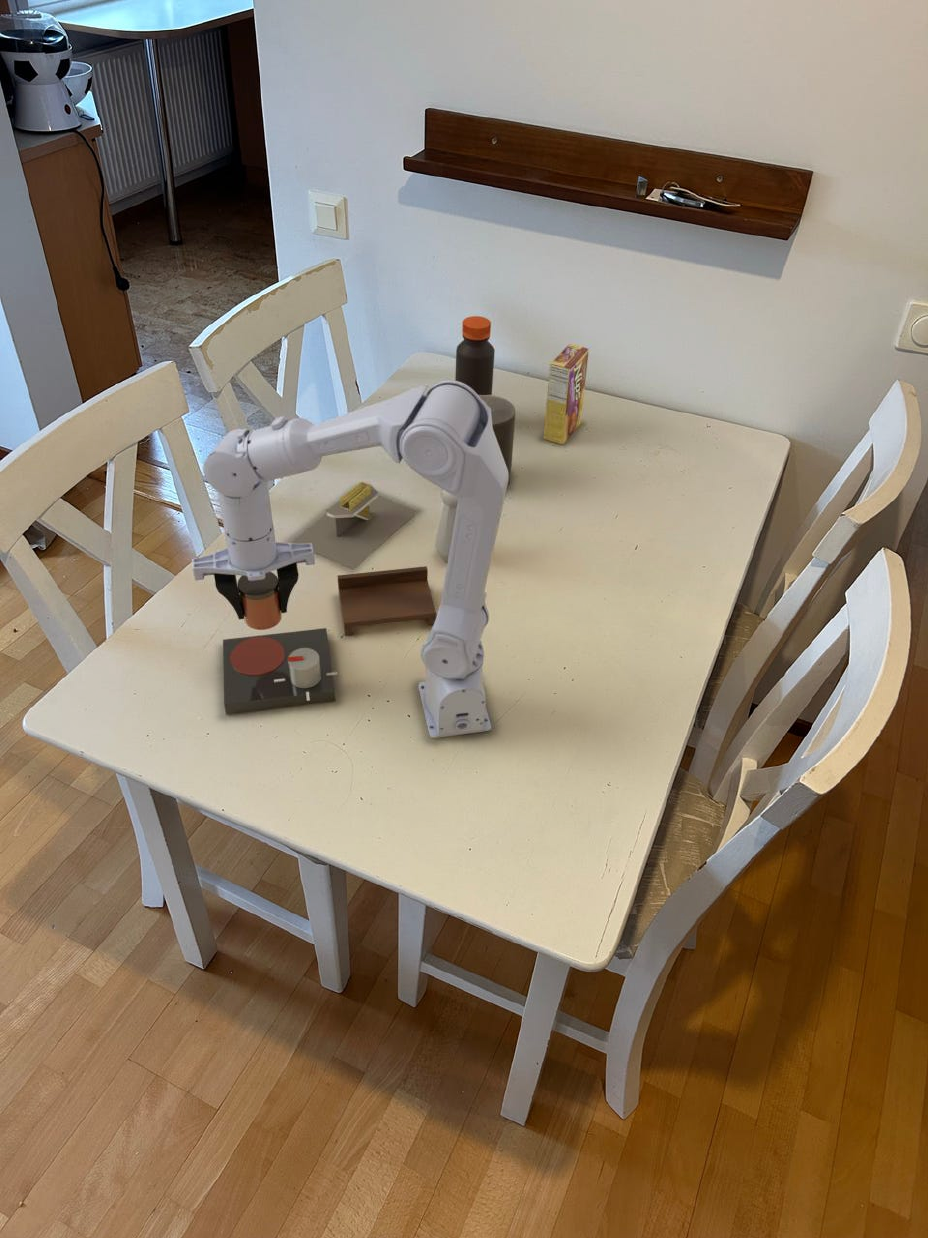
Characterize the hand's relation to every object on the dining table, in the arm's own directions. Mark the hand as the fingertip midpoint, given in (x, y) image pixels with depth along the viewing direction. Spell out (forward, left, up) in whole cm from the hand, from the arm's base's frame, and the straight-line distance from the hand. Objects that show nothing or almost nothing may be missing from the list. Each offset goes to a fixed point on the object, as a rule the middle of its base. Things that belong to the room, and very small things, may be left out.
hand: (261, 611), depth 118 cm
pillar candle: (+38, -38, -10) cm, 55 cm away
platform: (+28, -15, -10) cm, 34 cm away
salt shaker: (+18, -29, -10) cm, 36 cm away
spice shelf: (+7, -17, -9) cm, 21 cm away
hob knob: (-6, -5, -7) cm, 10 cm away
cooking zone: (-1, +1, -7) cm, 8 cm away
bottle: (+56, -40, -10) cm, 70 cm away
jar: (0, 0, -1) cm, 1 cm away
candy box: (+51, -56, -10) cm, 77 cm away
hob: (-3, -1, -9) cm, 10 cm away
